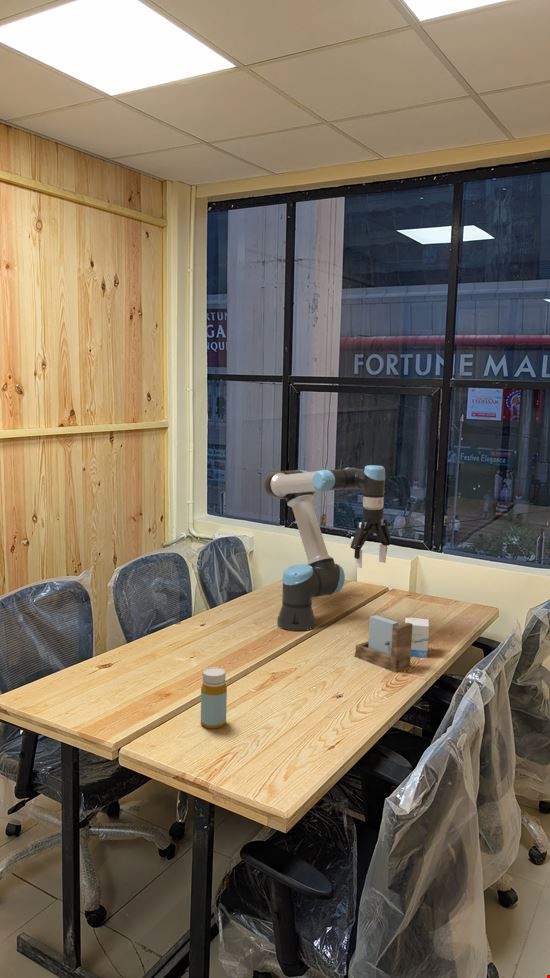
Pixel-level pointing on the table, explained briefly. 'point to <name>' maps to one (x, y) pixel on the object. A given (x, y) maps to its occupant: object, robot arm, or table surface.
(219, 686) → the bottle
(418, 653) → the ink box
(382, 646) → the door
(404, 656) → the track
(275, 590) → the table surface
